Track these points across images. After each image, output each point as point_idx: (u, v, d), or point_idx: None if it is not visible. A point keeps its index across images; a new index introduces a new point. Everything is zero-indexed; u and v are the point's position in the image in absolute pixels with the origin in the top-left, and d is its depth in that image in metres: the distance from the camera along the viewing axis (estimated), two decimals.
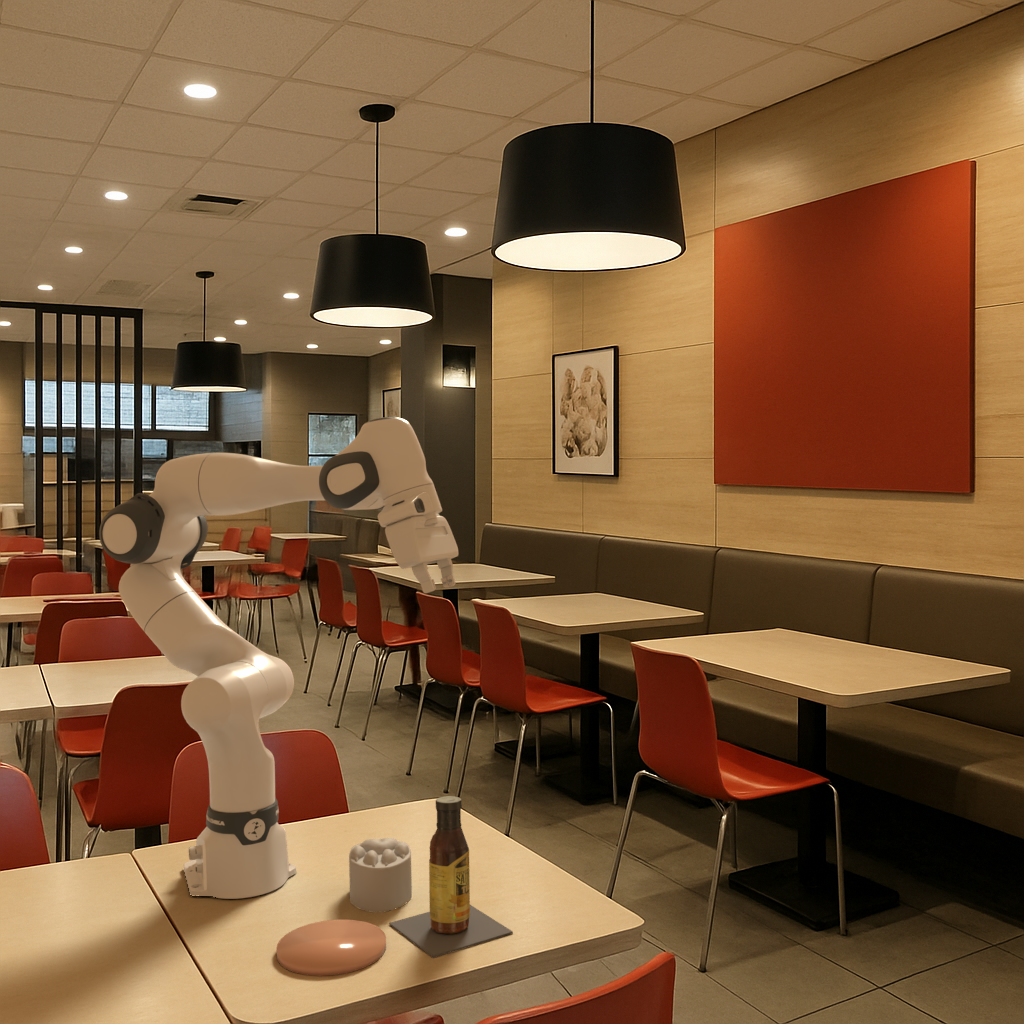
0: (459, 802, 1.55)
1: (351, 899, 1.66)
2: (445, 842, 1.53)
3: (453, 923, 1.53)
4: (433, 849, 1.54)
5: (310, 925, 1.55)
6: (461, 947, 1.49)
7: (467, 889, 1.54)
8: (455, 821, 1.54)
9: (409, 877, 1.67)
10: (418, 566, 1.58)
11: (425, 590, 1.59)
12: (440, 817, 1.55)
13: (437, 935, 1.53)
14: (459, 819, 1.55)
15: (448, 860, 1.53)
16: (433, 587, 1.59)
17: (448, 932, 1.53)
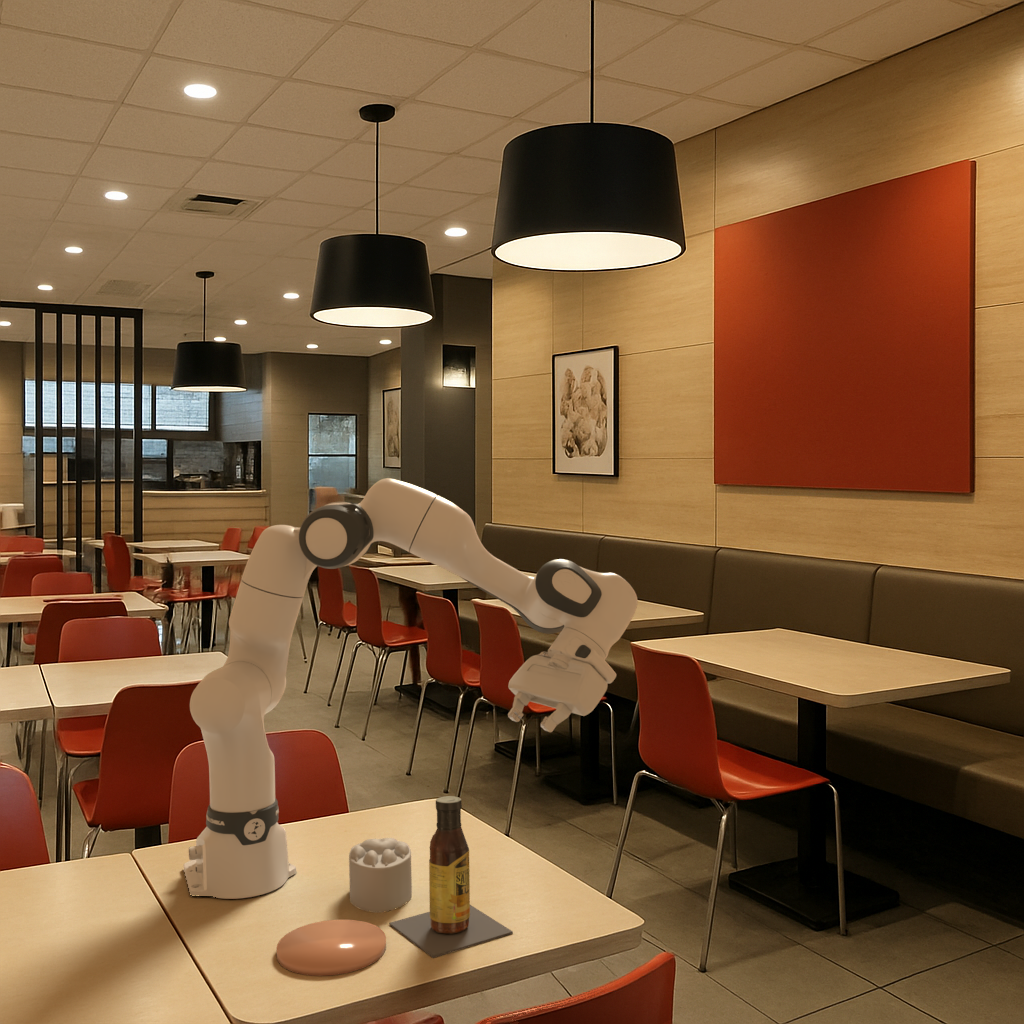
0: (459, 802, 1.55)
1: (351, 899, 1.66)
2: (445, 842, 1.53)
3: (453, 923, 1.53)
4: (433, 849, 1.54)
5: (310, 925, 1.55)
6: (461, 947, 1.49)
7: (467, 889, 1.54)
8: (455, 821, 1.54)
9: (409, 877, 1.67)
10: (567, 709, 1.60)
11: (547, 726, 1.59)
12: (440, 817, 1.55)
13: (437, 935, 1.53)
14: (459, 819, 1.55)
15: (448, 860, 1.53)
16: None
17: (448, 932, 1.53)
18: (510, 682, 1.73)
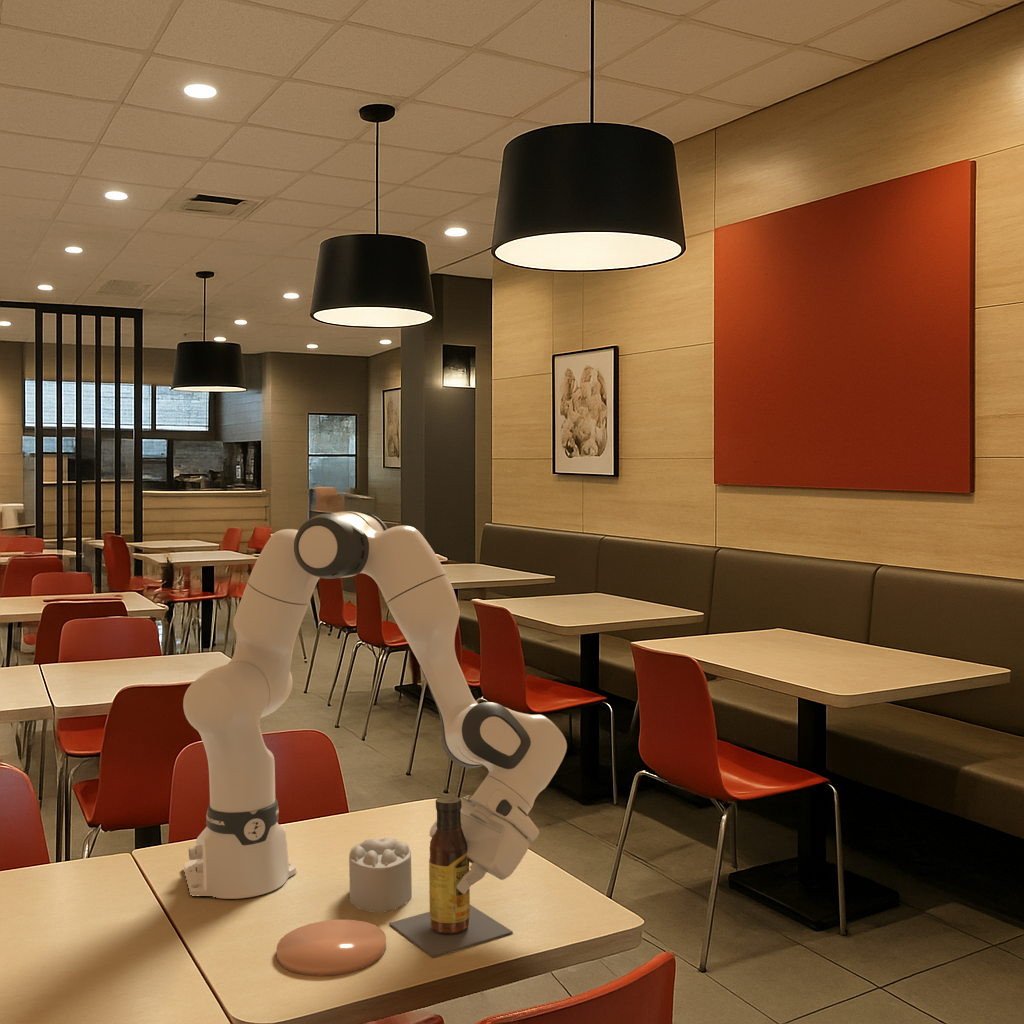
0: (459, 802, 1.55)
1: (351, 899, 1.66)
2: (445, 842, 1.53)
3: (453, 923, 1.53)
4: (433, 849, 1.54)
5: (310, 925, 1.55)
6: (461, 947, 1.49)
7: None
8: (455, 821, 1.54)
9: (409, 877, 1.67)
10: (482, 869, 1.52)
11: (460, 887, 1.52)
12: (440, 817, 1.55)
13: (437, 935, 1.53)
14: (459, 819, 1.55)
15: (448, 860, 1.53)
16: None
17: (448, 932, 1.53)
18: (431, 829, 1.64)
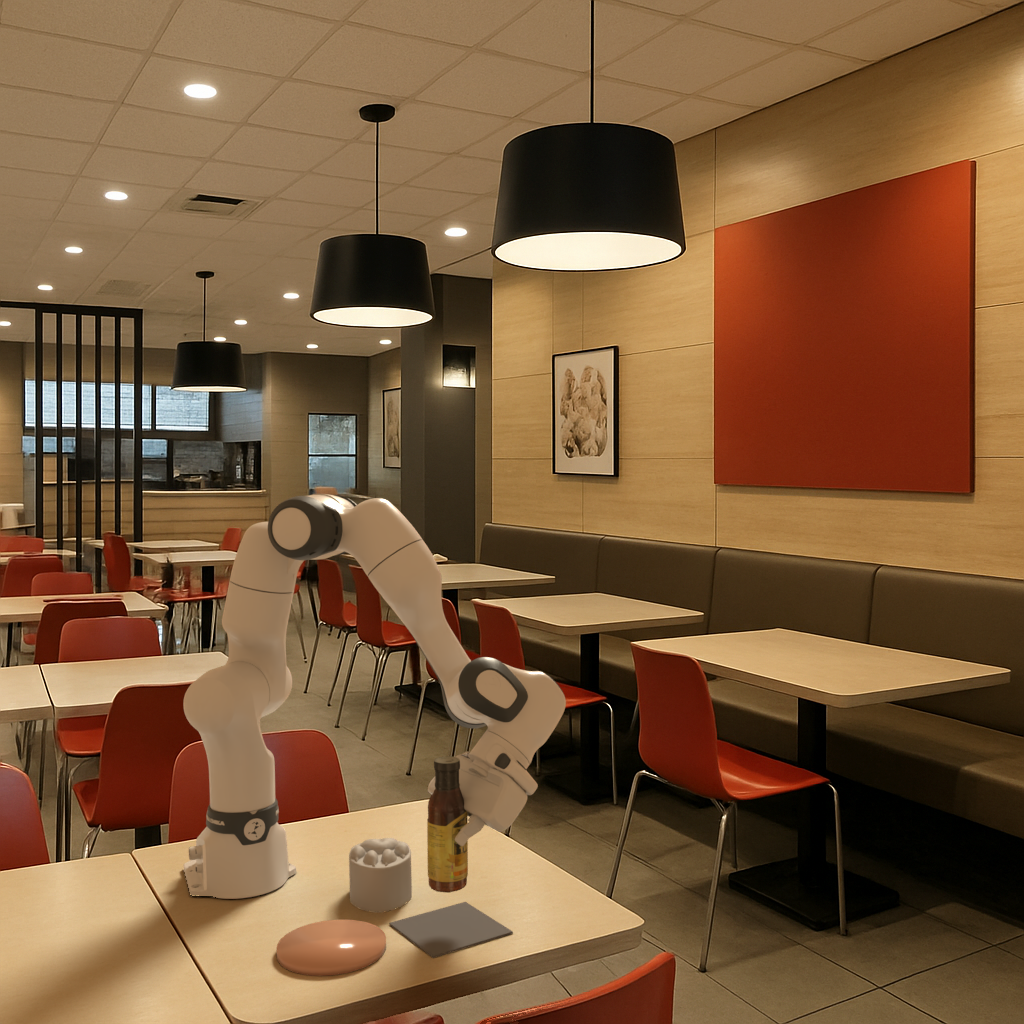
0: (457, 763, 1.54)
1: (351, 899, 1.66)
2: (443, 802, 1.53)
3: (451, 882, 1.53)
4: (431, 808, 1.54)
5: (310, 925, 1.55)
6: (461, 947, 1.49)
7: (465, 848, 1.54)
8: (453, 782, 1.54)
9: (409, 877, 1.67)
10: (480, 822, 1.52)
11: (458, 839, 1.51)
12: (438, 777, 1.54)
13: (437, 935, 1.53)
14: (457, 779, 1.55)
15: (446, 820, 1.53)
16: None
17: (446, 891, 1.53)
18: (430, 785, 1.64)
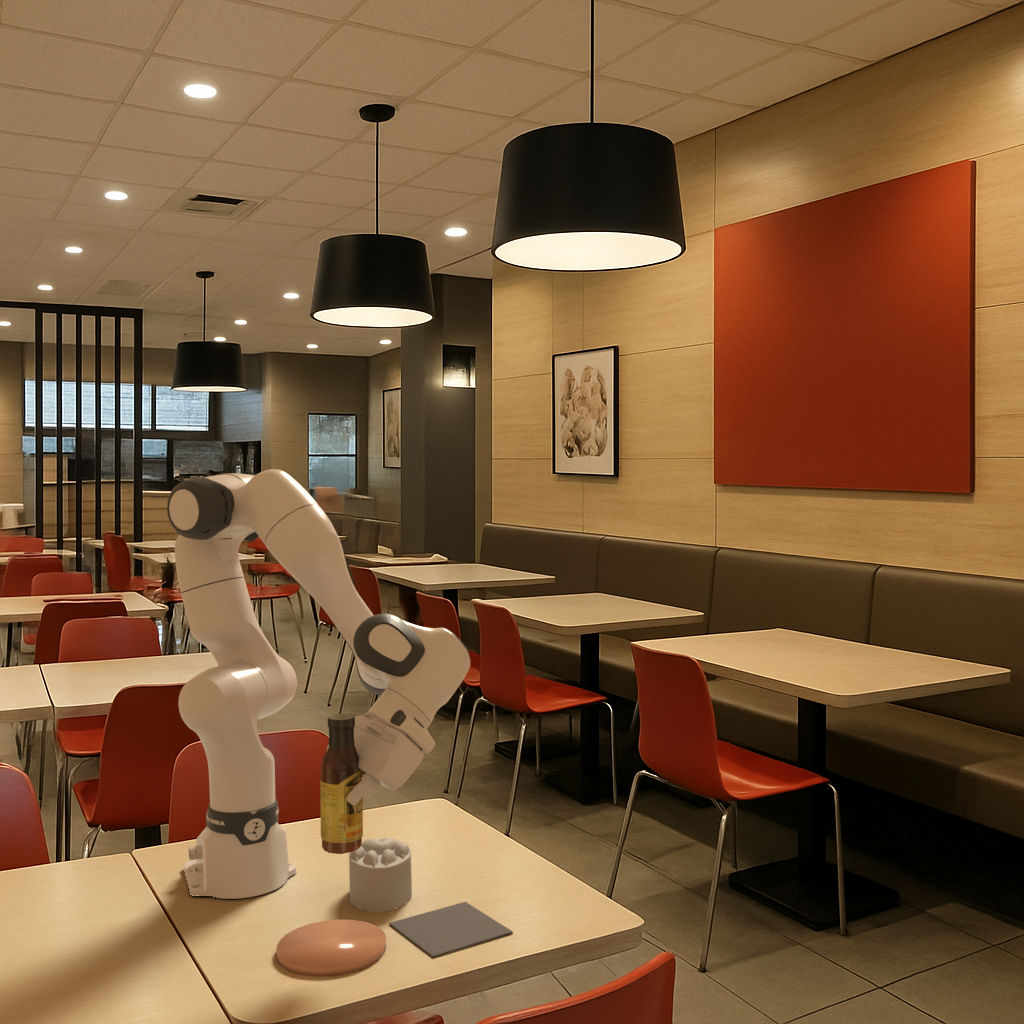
0: (351, 719, 1.48)
1: (351, 899, 1.66)
2: (335, 759, 1.47)
3: (343, 843, 1.47)
4: (323, 767, 1.48)
5: (310, 925, 1.55)
6: (461, 947, 1.49)
7: (359, 808, 1.49)
8: (347, 739, 1.48)
9: (409, 877, 1.67)
10: (373, 781, 1.46)
11: (350, 799, 1.46)
12: (331, 734, 1.48)
13: (437, 935, 1.53)
14: (352, 737, 1.49)
15: (339, 779, 1.47)
16: None
17: (338, 852, 1.47)
18: None
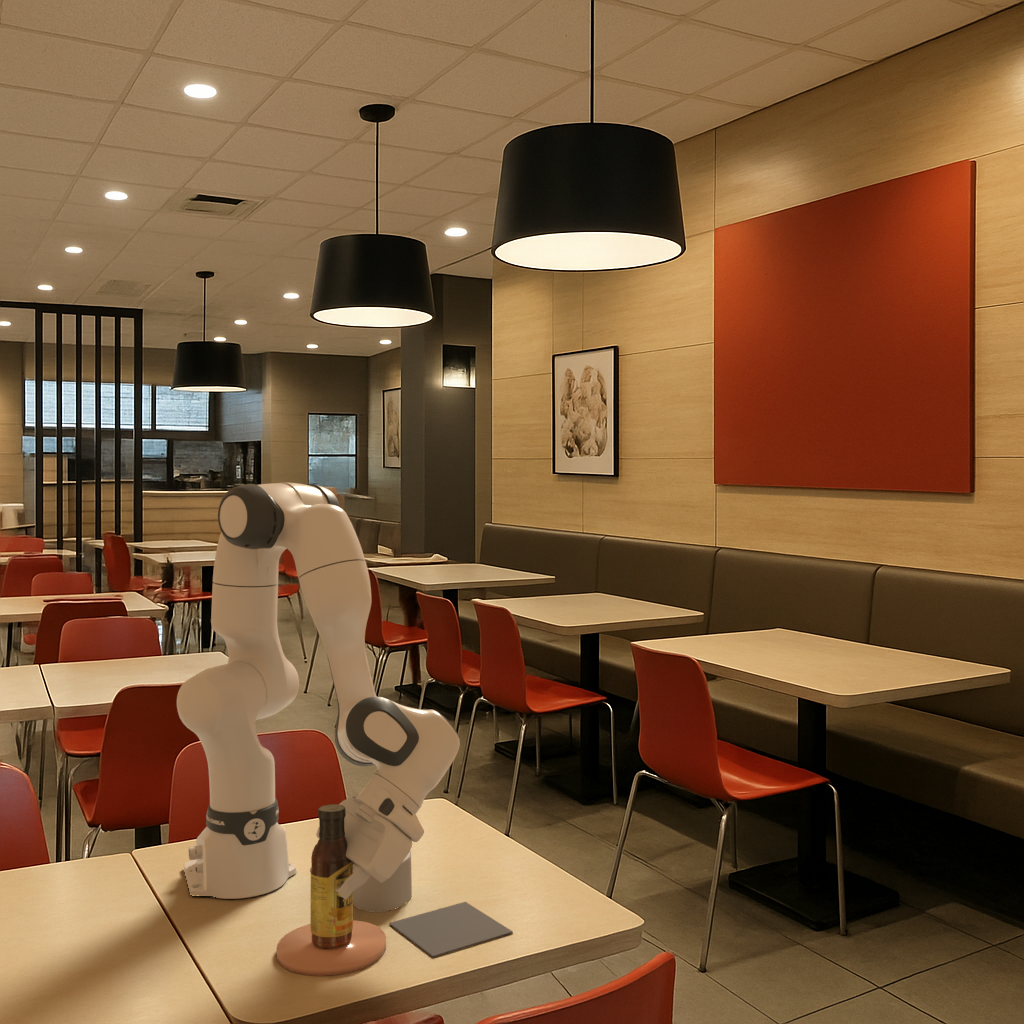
0: (342, 811, 1.49)
1: None
2: (326, 852, 1.47)
3: (333, 937, 1.46)
4: (314, 859, 1.48)
5: (310, 925, 1.55)
6: (461, 947, 1.49)
7: (349, 902, 1.48)
8: (337, 831, 1.48)
9: (409, 877, 1.67)
10: (365, 873, 1.45)
11: (342, 892, 1.44)
12: (322, 826, 1.48)
13: (437, 935, 1.53)
14: (342, 828, 1.49)
15: (329, 872, 1.46)
16: None
17: (328, 946, 1.46)
18: (318, 830, 1.58)
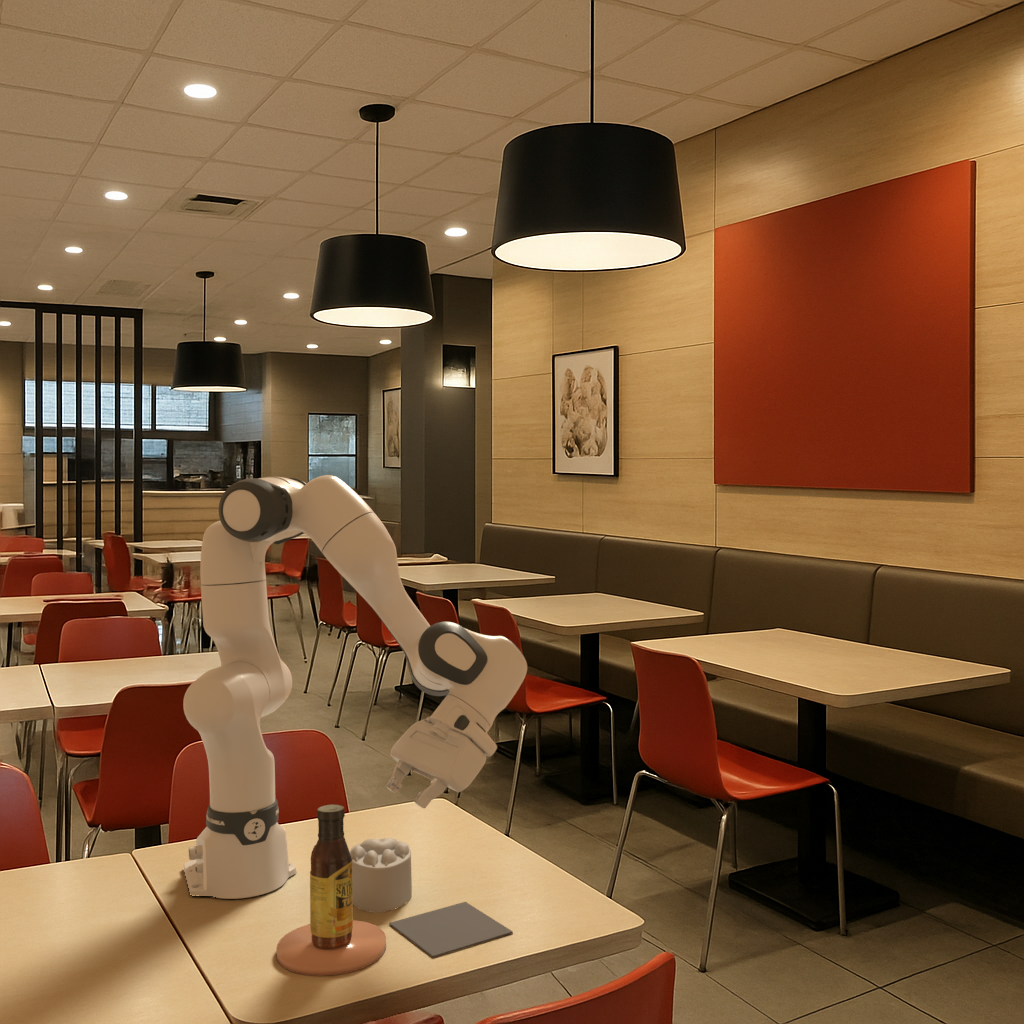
0: (340, 811, 1.49)
1: None
2: (325, 852, 1.47)
3: (333, 937, 1.46)
4: (313, 860, 1.48)
5: None
6: (461, 947, 1.49)
7: (349, 902, 1.48)
8: (336, 831, 1.48)
9: (409, 877, 1.67)
10: (442, 784, 1.52)
11: (420, 802, 1.51)
12: (321, 827, 1.48)
13: (437, 935, 1.53)
14: (341, 829, 1.49)
15: (328, 872, 1.46)
16: None
17: (328, 947, 1.46)
18: (392, 749, 1.65)
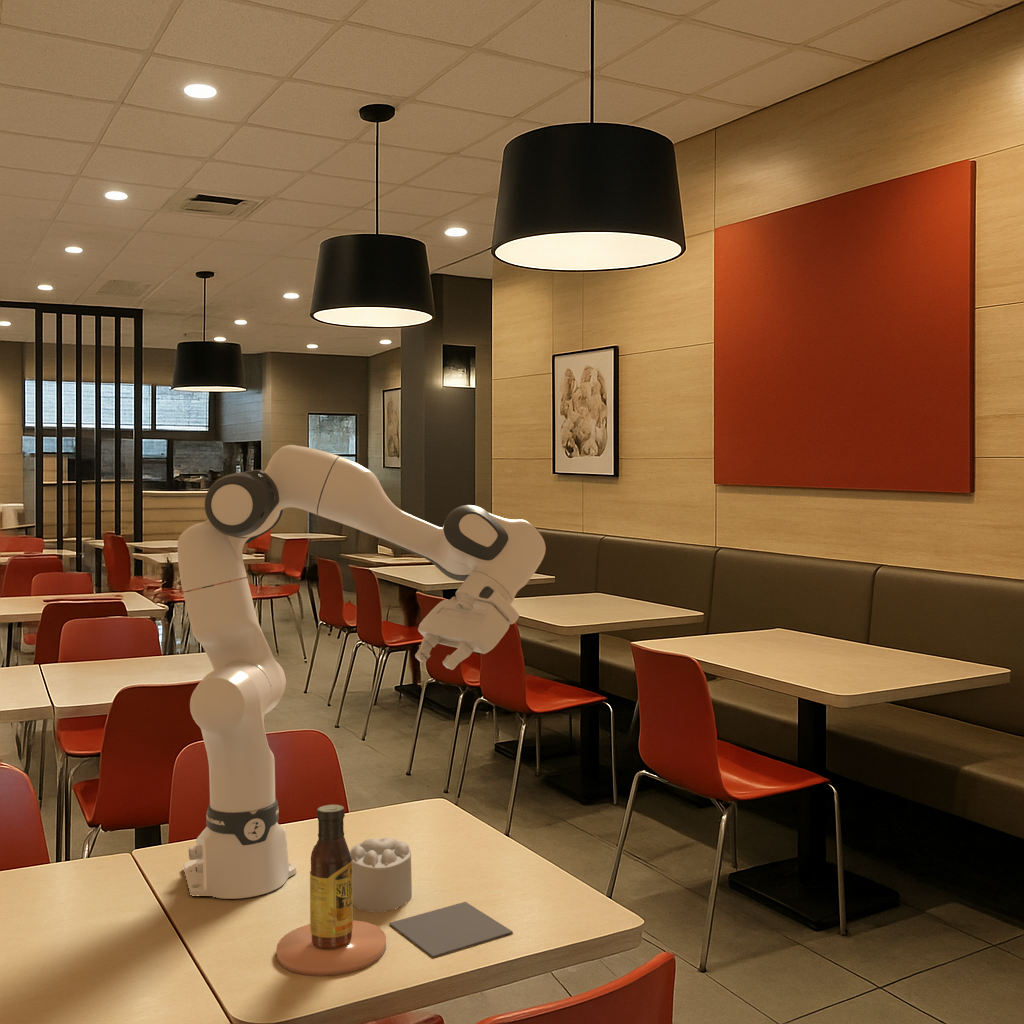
0: (341, 811, 1.49)
1: None
2: (325, 852, 1.47)
3: (333, 937, 1.46)
4: (313, 860, 1.48)
5: None
6: (461, 947, 1.49)
7: (349, 902, 1.48)
8: (336, 831, 1.48)
9: (409, 877, 1.67)
10: (469, 648, 1.64)
11: (449, 663, 1.63)
12: (321, 827, 1.48)
13: (437, 935, 1.53)
14: (341, 829, 1.49)
15: (328, 872, 1.46)
16: None
17: (328, 947, 1.46)
18: (420, 625, 1.77)
